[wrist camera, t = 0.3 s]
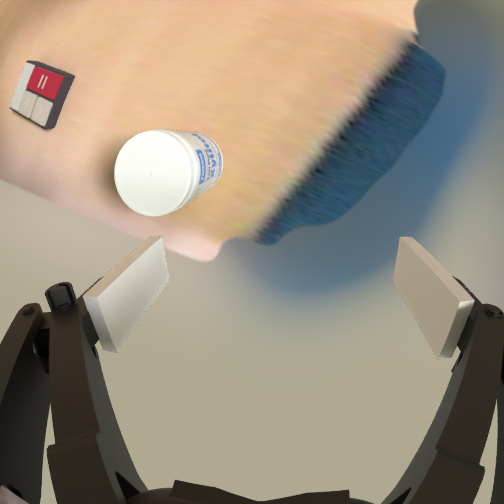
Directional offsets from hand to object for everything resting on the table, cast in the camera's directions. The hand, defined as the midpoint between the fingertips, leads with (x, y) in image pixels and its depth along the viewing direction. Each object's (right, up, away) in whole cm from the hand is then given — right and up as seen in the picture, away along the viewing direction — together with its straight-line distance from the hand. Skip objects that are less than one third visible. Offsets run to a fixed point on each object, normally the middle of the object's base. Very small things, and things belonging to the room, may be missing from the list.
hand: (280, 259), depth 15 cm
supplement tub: (-10, +14, +26) cm, 31 cm away
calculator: (-43, +32, +22) cm, 58 cm away
